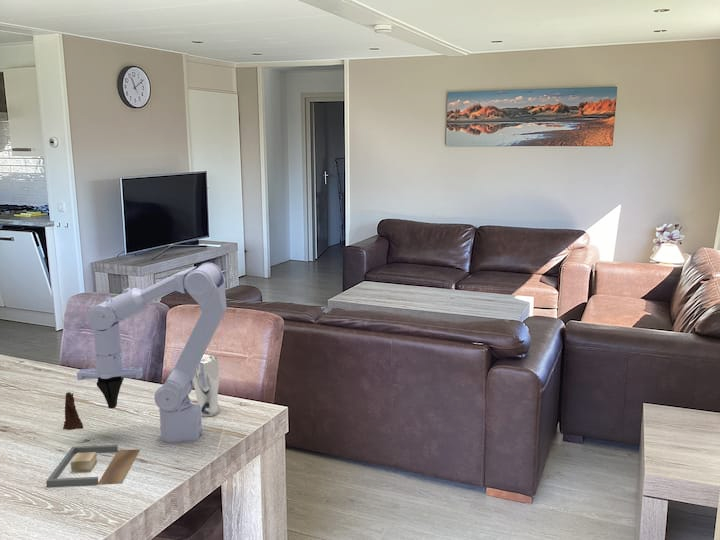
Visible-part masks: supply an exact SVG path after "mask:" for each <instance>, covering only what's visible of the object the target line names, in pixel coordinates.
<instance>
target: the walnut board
mask: <svg viewBox="0 0 720 540" xmlns="http://www.w3.org/2000/svg"><path fill="white" fill-rule="evenodd" d="M140 451H141V449H140V448H139V449H136V448H135V449H118V451H117V452H115V454H114V456H113V457H112V459H111V461H110V463H109V464H108V466H107V468H106V469H105V471H104V472H103V474H102V476H101V477H100V479H99V480H98V484H97V485H96V486H98V485H99V486H100V485H101V486H103V485H117V484H118V485H119V484H120V485H122V484H123V483H124V481H125V479H126V478H127V476H128V473H129V472H130V470H131V468H132V466H133V464H134V462H135V461H136V458H137V457H138V455H139V453H140Z"/></svg>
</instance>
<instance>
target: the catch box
mask: <svg viewBox="0 0 720 540" xmlns="http://www.w3.org/2000/svg"><path fill="white" fill-rule="evenodd" d="M118 450H119V446H118V444H109V445H108V444H107V445H88V446H86V445H85V446H72V447H71V448H70V449H69V451H68V452H67V453H66V454H65V455H64V457H63V458H62V459H61V461H59V464H58V465H57V466H56V467H55V469H54V470H53V472H51V474H50V475H49V477H48V478H47V480H46V482H45V483H46V487H47V488H56V487H74V486H75V487H77V486H78V487H79V486H98V485H97V484H98V482H99V477H98V476H89V477H88V476H87V477H85V476H84V477H66V478H65V477H63V478H60V477H59V476H60V475H61V474H62V472H63V471H64V470H65V468H67V466H68V465H69V463H71V461H72V459H73V458H74V456H75V455H76V454H77V453H87V452H96V454H100V453H101V454H103V453H107V454H108V453H117V451H118Z"/></svg>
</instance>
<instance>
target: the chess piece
mask: <svg viewBox="0 0 720 540" xmlns="http://www.w3.org/2000/svg"><path fill="white" fill-rule="evenodd" d="M76 408H77V407H76V405H75V397H74V393H71V392H70V391H68V392H66V393H65V402H64V420H65V421H64V422H63V430H65V431H70V430H71V431H72V430H83V429H84V425H83V422H82V419H81V418H80V416H79V413H78V411H77V409H76Z"/></svg>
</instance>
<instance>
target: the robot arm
mask: <svg viewBox="0 0 720 540" xmlns="http://www.w3.org/2000/svg"><path fill="white" fill-rule="evenodd" d="M225 287H226V278H225V276H224V273H223V272H222V270H221V268H220V267H219V266H218V265H216V264H215V263H212V262H204V263H202V264H200V265H199V266H198V267H197V266H192V267H189V268H187V269H183V270H181V271H178V272H176V273H174V274H172V275H170V276H168V277H167V278H164V279H162V280H160V281H158V282H157V283H154V284H152V285H150V286H149V287H146V288H145V289H141V288H139V287H133V288H131V287H127V288H125V289H122V293H121V294H119V295H116V296H114V297H111V296H109V297H108V298H105V301H103V302H100V303H99V304H97V305H95V306H93V307H92V308H91V309H90V310H89V311H88V313H87V322H88V325H90V326H91V328H92V331H93V342H94V343H93V344H94V354H95V366H96V367H92V368H87V369H86V368H85V369H79V370H78V371H77V372H76V377H77V378H76V379H77V381H82V380H94V379H95V380H96V379H97V382H96V387H97V388H98V389H99V391H101V393H102V395H103V397H104V398H105V401H106V403H107V407H108V409H115V408H116V407H117V405H118V397H119V393H120V390H121V386H122V384H123V382H124V380H125V379H127V378H135V379H141V378H142V377H143V376H144V375H143V374H144V373H143V367H132V366H123V357H122V343H121V332H120V322H123V321H124V320H126V319H129V318H131V317H134V316H136V315H138V314H140V313H142V312H144V311H146V310H147V309H148V305H149V303H151V302H153V301H154V300H158V299H159V298H162V297H164V296H166V295H170V294H171V293H173V292H179V293H180V294H186V293H188V294H189V295H190V297H191V298H192V299H193V300H194V301H195V302H196V303H197V304H198V306H199V308H200V310H201V313H200V315H199V318H198V319H197V321H196V322H195V325H194V327H193V329H192V331H191V333H190V335H189V338H188V340H187V342H186V343H185V345H184V347H183V349H182V352H181V354H180V355H179V357H178V359H177V360H176V363H175V366H174V368H173V369H172V371H171V372H170V374H169V376H168V377H167V378H166V381H165V382H164V383H163V384H162V385H161V386H160V387H158V388H157V389H156V391H155V392H154V402H155V405H156V406H157V407H158V408H159V410H158V411H159V422H160V423H159V424H160V439H161V440H162V441H163V442H167V443H181V442H187V441H189V442H190V441H191V442H192V441H199V440H200V436H201V435H202V433H203V424H202V423H203V422H202V417H201V407H200V405H199V404H197V403H192V402H191V399H190V397H189V395H190V394H191V392H192V390H193V387H194V384H193V378H194V376H195V371H196V369H197V367H198V365H199V363H200V361H201V359H202V357H203V355H205V353H206V351H207V349H208V346H209V345H210V344H211V342H212V339H213V338H214V335H215V333H216V331H217V329H218V328H219V325H220V323H221V321H222V320H223V317H224V315H225V313H226V311H227V307H228V306H227V297H226V288H225ZM124 378H125V379H124Z"/></svg>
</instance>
